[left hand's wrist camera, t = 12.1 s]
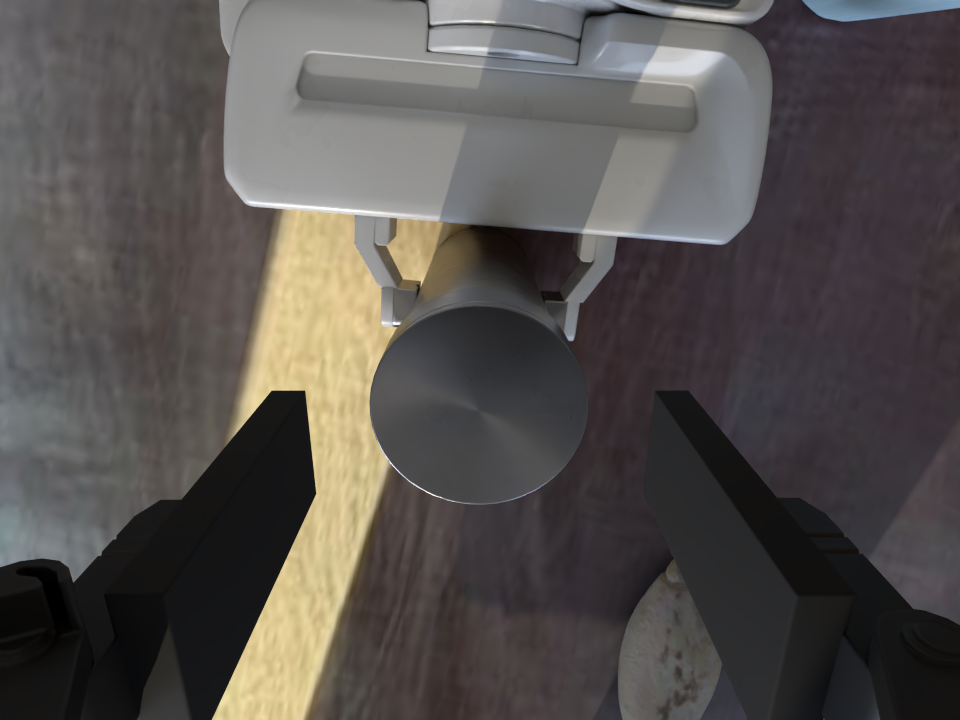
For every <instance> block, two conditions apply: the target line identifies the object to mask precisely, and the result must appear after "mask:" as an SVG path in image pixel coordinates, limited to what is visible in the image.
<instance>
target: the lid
mask: <svg viewBox="0 0 960 720" xmlns="http://www.w3.org/2000/svg"><path fill="white" fill-rule="evenodd" d="M370 416H371V422H372V427H373V430H374V433H375V436H376V439H377V441H378V443H379V445H380V447H381V449H382V451H383V453H384V454H385V456H386V457H387V459H388V460H389V462H390V463H391V464H392V465H393V466H394V468H395V469H396V470H397V471H398V472H399V473H400V474H401V475H402V476H404V477H405V478H406V479H407V480H408V481H409V482H411V483H412V484H414V485H415V486H417V487H418V488H420V489H422V490H424V491H426V492H428V493H429V494H431V495H434V496H437V497H439V498H442V499H445V500H449V501H453V502H457V503H465V504H494V503H500V502H505V501H510V500H513V499H516V498H519V497H522V496H524V495H526V494H529V493H531V492H533V491H535V490H537V489H538V488H540V487H541V486H543V485H545V484H546V483H547V482H549V481H550V480H551V479H552V478H554V477H555V476H556V475H557V474H558V473H559V472H560V471H561V470H562V469H563V468H564V467H565V466H566V464H567V463H568V462H569V460H570V459H571V458H572V456H573V455H574V453H575V451H576V449H577V448H578V446H579V444H580V441H581V439H582V436H583V434H584V431H585V427H586V422H587V417H588V392H587V387H586V382H585V378H584V375H583V372H582V370H581V367H580V365H579V363H578V360H577V358H576V356H575V353H574V351H573V349H572V347H571V345H570V343H569V341H568V339H567V337H566V335H565V333H564V332H563V330H562V329H561V328H560V326H559V325H558V323H557V322H556V321H555V320H554V319H553V318H552V317H551V316H550V315H549V314H548V313H547V312H546V311H544V310H543V309H542V308H541V307H539V306H538V305H536V304H535V303H533V302H531V301H530V300H528V299H526V298H524V297H522V296H519V295H517V294H515V293H511V292H508V291H504V290H500V289H494V288H480V287H473V288H464V289H458V290H454V291H450V292H446V293H444V294H441V295H439V296H436V297H434V298H432V299H430V300H429V301H427V302H425V303H423V304H422V305H420V306H419V307H418V308H416V309H415V310H414V311H412V312H411V313H410V314H409V315H408V316H407V317H406V318H405V319H404V320H403V321H402V323H401V324H400V325H399V326H398V328H397V329H396V330H395V332H394V334H393V336H392V337H391V339H390V341H389V343H388V345H387V347H386V349H385V352H384V354H383V356H382V358H381V360H380V363H379V365H378V367H377V370H376V372H375V375H374V378H373V382H372V386H371V393H370Z"/></svg>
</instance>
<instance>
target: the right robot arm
mask: <svg viewBox="0 0 960 720" xmlns="http://www.w3.org/2000/svg"><path fill="white" fill-rule="evenodd" d="M773 2H774V0H219V7H220V25H221V35H222V40H223V44H224V47H225V50H226V52H227V54H228V56H229V58H230V60H229V67H228V77H227V86H226V99H225V114H224V171H225V176H226V179H227V181H228V182H229V184H230V185H231V186H232V188H233V189H234V190H235V192H236V193H237V194H238V195H239V197H240V198H241V199H242V200H243V201H244V203H246V204H247V205H249V206H254V207H265V208H277V209H290V210H302V211H314V212H326V213H338V214H350V215H355V245H356V247H357V249H358V251H359V252H360V254H361V256H362V258H363V260H364V261H365V263H366V265H367V267H368V269H369V270H370V272H371V274H372V276H373V278H374V279H375V281H376V283H377V285H378V286H379V287H382V292H381V325H382V326H386V327H398V326H399V325H400V324H401V323H402V321H403V320H404V319H405V318H406V317H407V316H408V315H409V314H410V313H411V311H412V308H413V306H414V303H415V301H416V298H417V296H418V293H419V291H420V287H421V281H414V280H404V279H402V276H401V274H400V272H399V270H398V268H397V266H396V264H395V262H394V260H393V258H392V256H391V254H390V252H389V250H388V248H387V245H388V244H389V243H390V242H391V241H392V240H393V239H394V238H395V237H396V228H397V218H399V219H411V220H423V221H435V222H448V223H460V224H472V225H484V226H496V227H508V228H521V229H533V230H545V231H557V232H569V233H574V240H573V248H572V250H573V252H574V253H575V254H576V255H577V256H578V257H579V259H580V260H581V261H580V263H579V264H578V265H577V267H576V268H575V269H574V271H573V272H572V274H571V275H570V276H569V278H568V279H567V281H566V282H565V283H564V285H563V286H562V287H561V289H560V290H559V291H560V292H555V291H541V296H542V299H543V301H544V304H545V306H546V309H547V311H548V314H549V315H550V316H551V317H552V318H553V319H554V320H555V321H556V322H557V323H558V325H559V326H560V328H561V329H562V330H563V332H564V333H565V335H566V337H567V339H568V341H573V340H574V337H575V333H576V326H577V319H578V312H579V305H580V303H583V302H584V301H585V299H586V298H587V297H588V296H589V294H590V293H591V292H592V291H593V289H594V288H595V287H596V286H597V284H598V283H599V282H600V281H601V279H602V278H603V277H604V276H605V274H606V273H607V272H608V271H609V269H610V268H611V267H612V266H613V262H614V256H615V250H616V243H617V237H630V238H642V239H654V240H667V241H679V242H691V243H703V244H716V245H722V244H726V243H728V242H729V241H730V240H731V239H732V238H734V237H735V236H736V235H737V234H738V233H739V232H740V231H741V230H742V229H743V228H744V227H745V226H746V225H747V224H748V223H749V221H750V220H751V218H752V215H753V213H754V210H755V206H756V202H757V198H758V193H759V189H760V184H761V179H762V174H763V168H764V162H765V156H766V149H767V142H768V134H769V126H770V116H771V105H772V72H771V67H770V62H769V59H768V56H767V54H766V52H765V50H764V48H763V47H762V45H761V44H760V42H759V41H758V40H757V39H756V38H755V37H754V36H753V35H751V34H750V33H749V32H747V31H745V30H743V29H744V28H746V27H747V26H749V25H751V24H752V23H754V22H755V21H757V20H758V19H760V18H761V17H763V16H764V15H765V14H766V13H767V12H768V11H769V9H770V8H771V6H772V4H773Z"/></svg>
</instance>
